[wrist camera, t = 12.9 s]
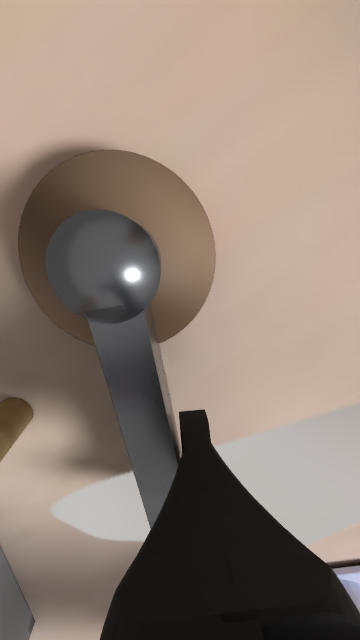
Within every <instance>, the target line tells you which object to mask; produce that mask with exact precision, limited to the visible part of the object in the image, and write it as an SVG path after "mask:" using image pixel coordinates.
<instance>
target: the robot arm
mask: <svg viewBox="0 0 360 640" xmlns="http://www.w3.org/2000/svg"><path fill="white" fill-rule="evenodd" d="M179 418H180V431H181V444H182V456H181V459H180V462H179V466H178V469H177V472H176V474H175V477H174V480H173V483H172V485H171V488H170V490H169V493H168V495H167V497H166V499H165V502H164V504H163V506H162V508H161V511H160V513H159V515H158V517H157V519H156V521H155V523H154V525H153V527H152V529H151V530H150V532H149V534H148V536H147V538H146V540H145V542H144V544H143V545H142V547H141V549H140V551H139V553H138V554H137V556H136V558H135V559H134V561H133V563H132V564H131V566H130V567H129V569H128V571H127V572H126V574H125V576H124V577H123V579H122V581H121V582H120V584H119V585H118V587H117V589H116V591H115V594H114V596H113V599H112V602H111V605H110V608H109V611H108V614H107V617H106V620H105V623H104V627H103V630H102V634H101V637H100V640H360V565H358V566H350V567H342V568H334V569H332V568H331V567H330V566H329V565H328V564H326V563H325V562H324V561H323V560H321V559H320V558H319V557H318V556H316V555H315V554H314V553H313V552H312V551H310V550H309V549H308V548H307V547H306V546H305V545H303V544H302V543H301V542H300V541H299V540H297V539H296V538H295V537H294V536H293V535H292V534H291V533H290V532H289V531H288V530H286V529H285V528H284V527H283V526H282V525H281V524H280V523H279V522H278V521H277V520H276V519H275V518H274V517H273V516H272V515H271V514H270V513H269V512H268V511H267V510H266V509H265V508H264V507H263V506H262V505H261V504H259V503H258V501H256V499H255V498H254V497H253V496H252V495H251V494H250V493H249V492H248V491H247V490H246V488H244V486H243V485H242V484H241V483H240V481H239V480H238V479H237V478H236V477H235V475H234V474H233V473H232V472H231V470H230V469H229V468H228V467H227V465H226V464H225V462H224V461H223V460H222V458H221V457H220V456H219V454H218V453H217V451H216V450H215V448H214V447H213V445H212V443H211V439H210V431H209V423H208V419H207V415H206V412H205V410H194V411H183V412H179Z"/></svg>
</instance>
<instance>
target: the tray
mask: <svg viewBox="0 0 360 640" xmlns="http://www.w3.org/2000/svg"><path fill="white" fill-rule="evenodd" d="M34 623H35V620H34V618H33V616H32V614H31V612H30V610H29V607H28V605H27V603H26V601H25V599H24V596H23V594H22V592H21V590H20V588H19V585H18V583H17V581H16V579H15V577H14V575H13V572H12V570H11V568H10V566H9V564H8V561H7V559H6V557H5V555H4V553H3V550H2V548H1V546H0V640H29V638H30V635H31V632H32V629H33V626H34Z"/></svg>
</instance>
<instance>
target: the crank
mask: <svg viewBox="0 0 360 640" xmlns="http://www.w3.org/2000/svg"><path fill="white" fill-rule="evenodd" d="M46 272H47V276H48V280H49V283H50V285H51V288H52V289H53V291H54V293H55V295H56V296H57V297H58V299H59V300H60V301H61V302H62V303H63V305H64V306H65V307H67V308H68V309H69V310H70V311H71V312H73V313H74V314H76V315H77V316H79V317H81V318H83V319H86V320H88V322H89V325H90V329H91V332H92V335H93V339H94V342H95V345H96V349H97V352H98V355H99V359H100V362H101V365H102V369H103V372H104V375H105V379H106V382H107V385H108V389H109V392H110V395H111V398H112V402H113V405H114V408H115V412H116V415H117V418H118V422H119V425H120V428H121V432H122V435H123V438H124V442H125V445H126V448H127V452H128V455H129V458H130V462H131V465H132V468H133V472H134V475H135V478H136V481H137V485H138V488H139V492H140V495H141V498H142V501H143V505H144V508H145V511H146V515H147V518H148V521H149V525H150V528H151V529H152V527H153V525H154V523H155V521H156V519H157V517H158V515H159V513H160V511H161V508H162V506H163V504H164V502H165V499H166V497H167V495H168V493H169V490H170V488H171V485H172V483H173V480H174V477H175V474H176V472H177V469H178V466H179V462H180V459H181V456H182V452H181V447H180V442H179V438H178V433H177V428H176V423H175V419H174V414H173V409H172V404H171V399H170V395H169V390H168V385H167V380H166V376H165V371H164V366H163V361H162V356H161V352H160V347H159V342H158V337H157V333H156V328H155V323H154V318H153V313H152V309H151V304H150V303H151V302H152V300H153V299H154V297H155V295H156V293H157V290H158V287H159V284H160V277H161V255H160V251H159V248H158V245H157V243H156V241H155V240H154V238H153V237H152V235H151V234H150V233H149V232H148V231H147V230H146V229H145V228H144V227H143V226H141V225H140V224H138V223H137V222H135V221H133V220H132V219H130V218H128V217H126V216H124V215H122V214H120V213H116V212H113V211H108V210H98V209H96V210H87V211H83V212H80V213H78V214H75V215H73V216H71V217H70V218H68V219H67V220H65V221H64V222H63V223H62V224H61V225H60V226H59V227H58V228H57V229H56V231H55V232H54V234H53V235H52V237H51V239H50V241H49V244H48V247H47V252H46Z"/></svg>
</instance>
